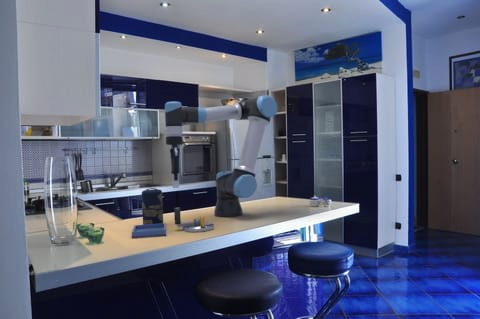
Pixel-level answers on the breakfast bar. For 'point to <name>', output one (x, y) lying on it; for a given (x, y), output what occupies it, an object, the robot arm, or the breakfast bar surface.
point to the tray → (149, 230)
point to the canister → (152, 206)
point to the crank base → (202, 228)
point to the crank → (178, 221)
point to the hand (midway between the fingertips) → (175, 187)
